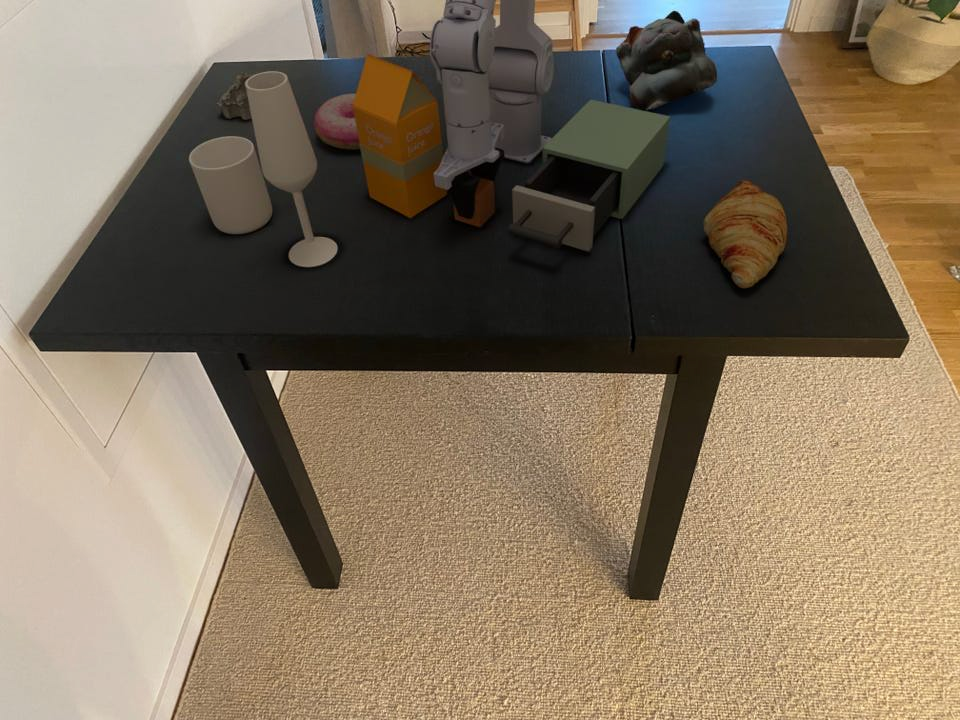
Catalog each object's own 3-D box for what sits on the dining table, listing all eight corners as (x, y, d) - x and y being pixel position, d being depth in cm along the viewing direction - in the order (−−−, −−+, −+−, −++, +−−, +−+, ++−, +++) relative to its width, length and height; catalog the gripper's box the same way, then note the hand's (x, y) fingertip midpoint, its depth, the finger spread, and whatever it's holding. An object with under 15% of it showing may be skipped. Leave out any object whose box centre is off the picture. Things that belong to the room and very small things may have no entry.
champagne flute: (344, 239, 101) (305, 68, 84) (327, 269, 96) (281, 96, 79) (299, 234, 102) (252, 66, 85) (280, 264, 98) (225, 92, 81)
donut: (377, 161, 115) (372, 131, 111) (302, 151, 118) (295, 122, 115) (410, 120, 124) (406, 91, 120) (339, 111, 127) (333, 84, 124)
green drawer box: (622, 219, 100) (627, 168, 95) (542, 197, 105) (542, 147, 100) (663, 165, 109) (670, 116, 104) (587, 147, 114) (590, 99, 109)
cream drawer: (571, 273, 92) (573, 232, 87) (494, 248, 96) (492, 209, 92) (632, 195, 103) (636, 156, 98) (560, 176, 107) (561, 138, 103)
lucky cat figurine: (627, 117, 120) (608, 28, 115) (629, 112, 131) (613, 30, 126) (722, 91, 115) (706, -3, 111) (716, 88, 126) (702, 2, 122)
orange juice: (409, 218, 103) (389, 82, 89) (368, 197, 108) (343, 63, 94) (448, 194, 107) (434, 59, 93) (407, 174, 112) (388, 42, 97)
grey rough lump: (249, 91, 135) (242, 69, 132) (284, 95, 133) (278, 73, 130) (216, 118, 128) (208, 95, 125) (253, 123, 126) (246, 100, 123)
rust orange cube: (454, 219, 103) (451, 189, 99) (470, 204, 105) (467, 173, 102) (480, 227, 101) (478, 196, 97) (495, 211, 103) (494, 181, 100)
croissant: (761, 319, 90) (809, 278, 84) (693, 283, 88) (737, 239, 82) (755, 217, 104) (796, 176, 98) (696, 184, 102) (734, 140, 96)
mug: (287, 189, 111) (269, 123, 103) (263, 236, 102) (241, 169, 95) (233, 188, 112) (210, 123, 104) (205, 236, 103) (178, 169, 96)
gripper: (464, 150, 87) (471, 243, 96) (523, 98, 95) (524, 188, 105) (415, 137, 89) (427, 229, 99) (476, 87, 98) (482, 176, 107)
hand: (474, 207), depth 102 cm, fingers closed on rust orange cube, 4 cm apart
